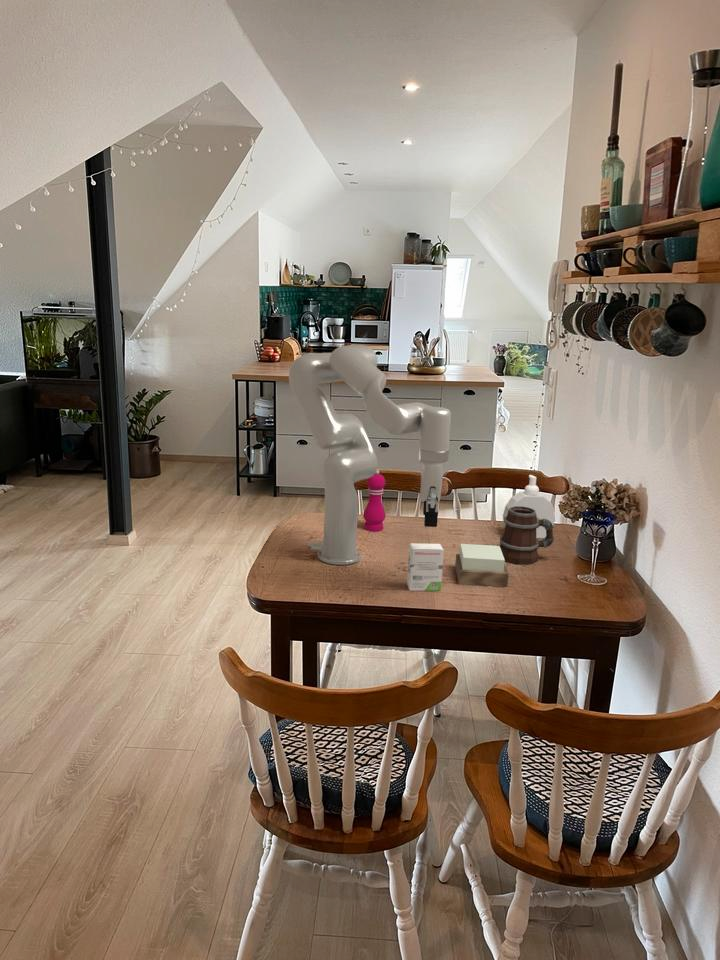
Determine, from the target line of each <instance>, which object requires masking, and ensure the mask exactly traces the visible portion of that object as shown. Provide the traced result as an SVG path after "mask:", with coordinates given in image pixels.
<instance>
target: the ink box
mask: <svg viewBox="0 0 720 960" xmlns="http://www.w3.org/2000/svg"><path fill="white" fill-rule="evenodd" d="M408 546H409V547H408V563H407V564H408V565H407V579H406V585H407V588H408V590H409V591H410V592H413V591H415V592H416V591H420V592H422V591H423V592H424V591H425V592H426V591H427V592H428V591H429V592H431V591H432V592H439V591H440V592H441V590H442V579H443V566H444V553H445V552H444V551H445V549H444V548H443V545H442V544H441V543H415V542H414V543H413V542H411V543H409V545H408Z"/></svg>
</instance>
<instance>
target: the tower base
mask: <svg viewBox="0 0 720 960" xmlns="http://www.w3.org/2000/svg"><path fill="white" fill-rule="evenodd" d="M454 568H455V572H456V577H457V582H458V585H459V586H475V587H488V586H492V587H493V588H504V587H507V588H508V582H509V571H508V569H507V566H506V562H505V563H504V572H490V571H474V570H463V569H462V565H461V560H460V553H456V554H455V563H454Z"/></svg>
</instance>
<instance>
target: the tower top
mask: <svg viewBox="0 0 720 960" xmlns="http://www.w3.org/2000/svg"><path fill="white" fill-rule="evenodd" d="M459 546H460V547H459V554H460V560H461V565H462V569H463V570H474V571H490V572H504V563H505V564H506V561H505V559H504V557H503V554H502V551H501V549H500V545H490V544H489V545H488V544H487V545H486V544H473V543H460V544H459Z"/></svg>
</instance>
